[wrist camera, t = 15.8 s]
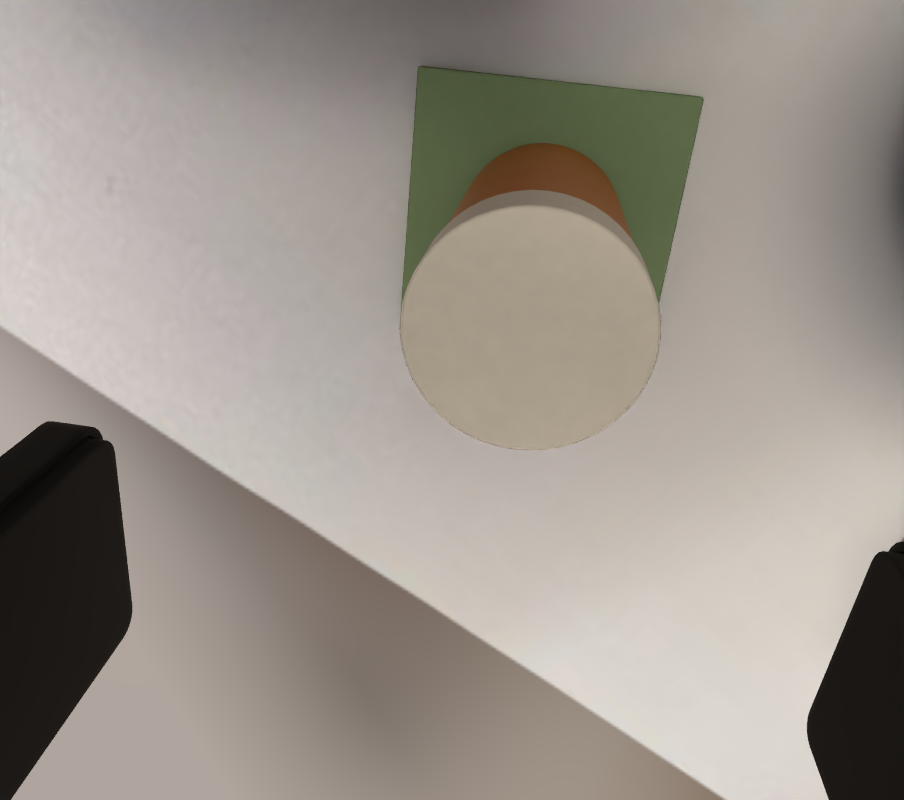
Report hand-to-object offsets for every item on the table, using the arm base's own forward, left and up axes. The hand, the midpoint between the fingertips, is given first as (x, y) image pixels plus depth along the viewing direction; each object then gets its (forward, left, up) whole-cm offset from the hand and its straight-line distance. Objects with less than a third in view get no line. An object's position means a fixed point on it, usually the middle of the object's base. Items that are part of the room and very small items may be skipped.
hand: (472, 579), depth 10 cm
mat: (0, 0, -22) cm, 22 cm away
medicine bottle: (0, 0, -22) cm, 22 cm away
